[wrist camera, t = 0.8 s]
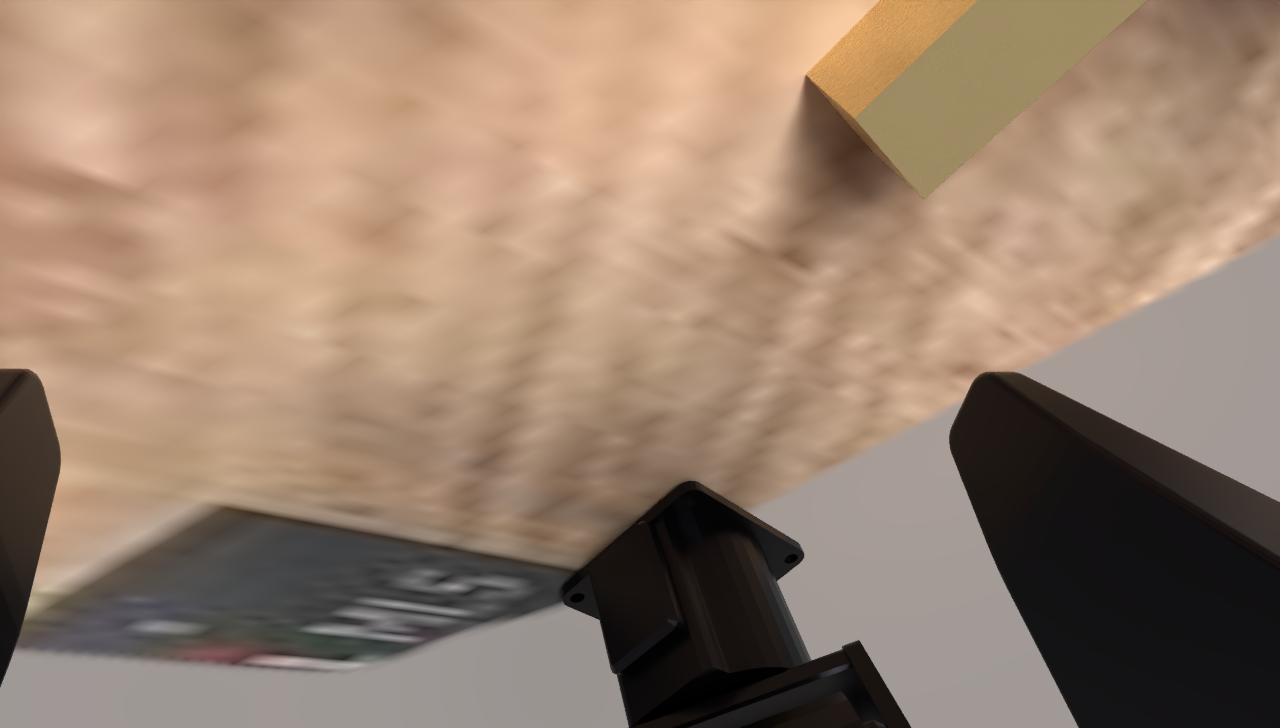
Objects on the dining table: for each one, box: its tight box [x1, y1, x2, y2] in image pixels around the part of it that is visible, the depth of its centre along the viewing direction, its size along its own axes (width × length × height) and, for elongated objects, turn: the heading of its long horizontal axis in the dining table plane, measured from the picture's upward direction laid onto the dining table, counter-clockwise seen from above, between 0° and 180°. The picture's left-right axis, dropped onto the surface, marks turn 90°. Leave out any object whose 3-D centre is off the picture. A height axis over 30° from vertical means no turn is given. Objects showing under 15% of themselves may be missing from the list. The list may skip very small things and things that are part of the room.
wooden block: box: [806, 0, 1147, 199], centre depth 20 cm, size 3×6×3 cm, turn 134°
